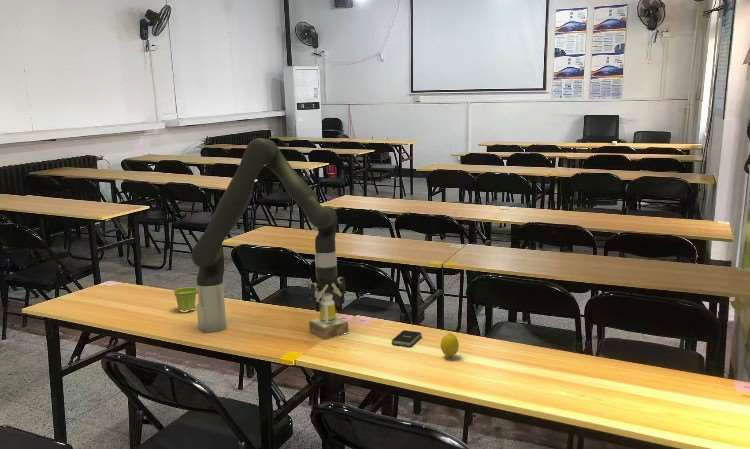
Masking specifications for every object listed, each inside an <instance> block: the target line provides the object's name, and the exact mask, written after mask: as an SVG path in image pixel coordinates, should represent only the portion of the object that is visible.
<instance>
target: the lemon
mask: <svg viewBox="0 0 750 449" xmlns="http://www.w3.org/2000/svg"><path fill="white" fill-rule="evenodd" d="M459 346H460V345H459V340H458V338H457V336H455V334H453V333H451V332H449V333H447V334H446V333H445V335H443V336H442V337H441V341H440V348H441V349H440V350H441V352H442V353H443V354H444V355H445V356H446V357H448V358H452V357H453V356H456V354H457V353H458V351H459V348H460V347H459Z"/></svg>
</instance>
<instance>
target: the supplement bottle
mask: <svg viewBox="0 0 750 449" xmlns="http://www.w3.org/2000/svg"><path fill="white" fill-rule="evenodd" d="M320 299H321V300H319V302H320V312H319V319H320V321H321V322H322V323H333V322H334V321H335V317H336V305H335V300H334V299H333V293H332V292H328V293H324V294H323V296H321V298H320Z"/></svg>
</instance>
